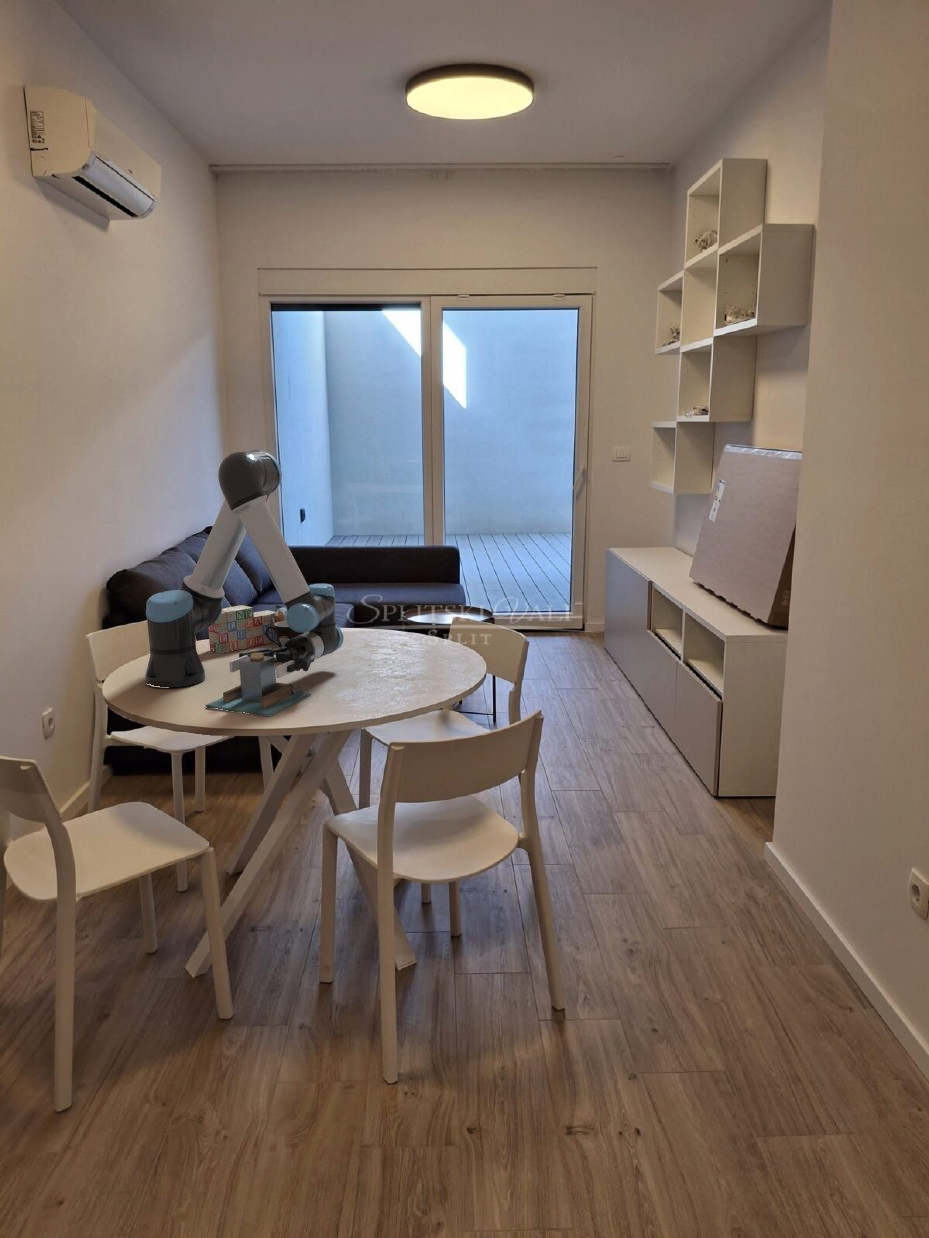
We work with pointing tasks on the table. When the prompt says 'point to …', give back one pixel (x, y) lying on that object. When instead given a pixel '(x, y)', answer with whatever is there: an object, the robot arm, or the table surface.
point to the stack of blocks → (241, 629)
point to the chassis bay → (268, 704)
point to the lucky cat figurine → (280, 615)
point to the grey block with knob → (257, 677)
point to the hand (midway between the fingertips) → (253, 669)
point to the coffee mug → (282, 633)
